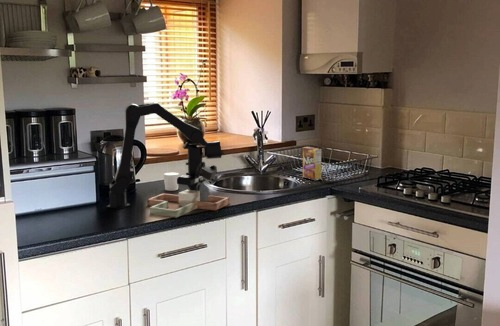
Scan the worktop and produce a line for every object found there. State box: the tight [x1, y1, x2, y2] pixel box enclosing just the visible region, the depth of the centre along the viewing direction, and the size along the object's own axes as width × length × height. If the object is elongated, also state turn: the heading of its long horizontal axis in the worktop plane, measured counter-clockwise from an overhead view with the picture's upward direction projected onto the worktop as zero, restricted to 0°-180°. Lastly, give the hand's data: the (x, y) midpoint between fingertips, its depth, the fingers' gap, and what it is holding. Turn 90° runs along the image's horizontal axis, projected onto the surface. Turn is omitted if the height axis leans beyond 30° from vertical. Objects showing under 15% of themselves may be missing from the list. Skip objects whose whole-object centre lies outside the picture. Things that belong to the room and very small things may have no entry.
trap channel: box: [146, 192, 230, 218], centre depth 216 cm, size 26×28×2 cm
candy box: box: [302, 146, 322, 179], centre depth 264 cm, size 9×4×15 cm, turn 36°
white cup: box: [163, 171, 180, 192], centre depth 247 cm, size 7×7×7 cm
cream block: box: [177, 189, 201, 207], centre depth 221 cm, size 6×6×5 cm
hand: (195, 197), depth 226 cm, fingers closed
